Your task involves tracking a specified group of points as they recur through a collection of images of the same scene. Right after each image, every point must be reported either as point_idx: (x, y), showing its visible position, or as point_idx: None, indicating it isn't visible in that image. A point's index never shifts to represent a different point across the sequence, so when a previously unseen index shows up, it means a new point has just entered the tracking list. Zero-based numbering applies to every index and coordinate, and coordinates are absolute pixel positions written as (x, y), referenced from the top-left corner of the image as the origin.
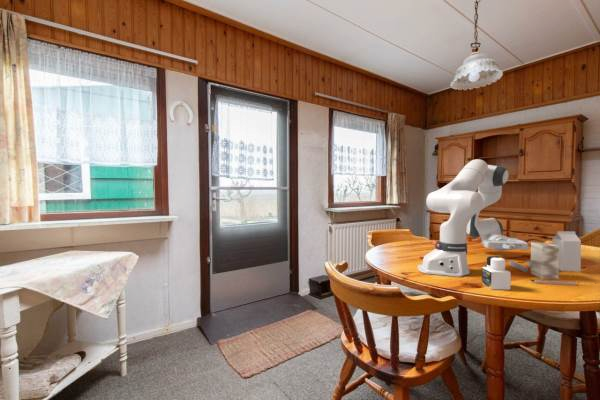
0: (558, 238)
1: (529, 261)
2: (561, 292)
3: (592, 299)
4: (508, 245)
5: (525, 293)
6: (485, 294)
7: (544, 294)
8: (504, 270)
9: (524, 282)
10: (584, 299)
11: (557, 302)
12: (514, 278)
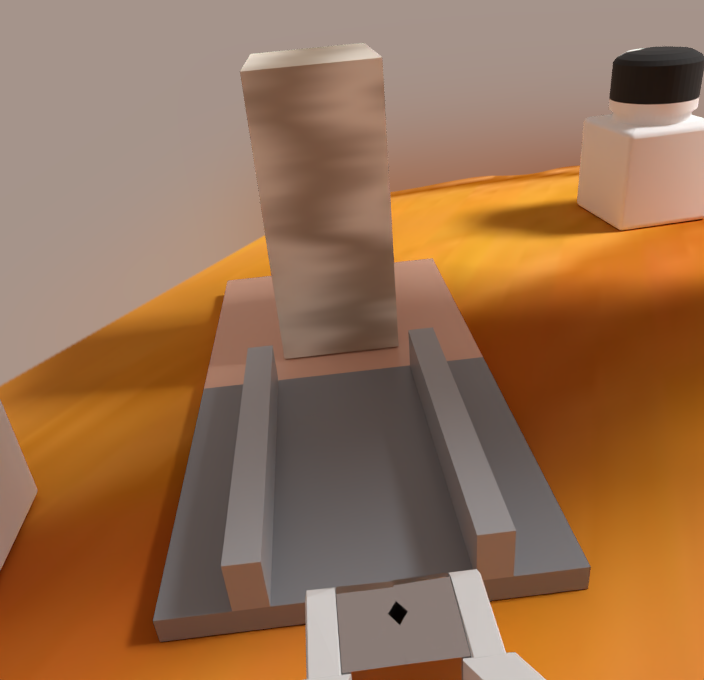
0: None
1: (229, 559)
2: None
3: None
4: (485, 595)
5: (523, 200)
6: None
7: (454, 208)
8: (610, 116)
9: (491, 269)
10: None
11: (441, 184)
12: (533, 299)
